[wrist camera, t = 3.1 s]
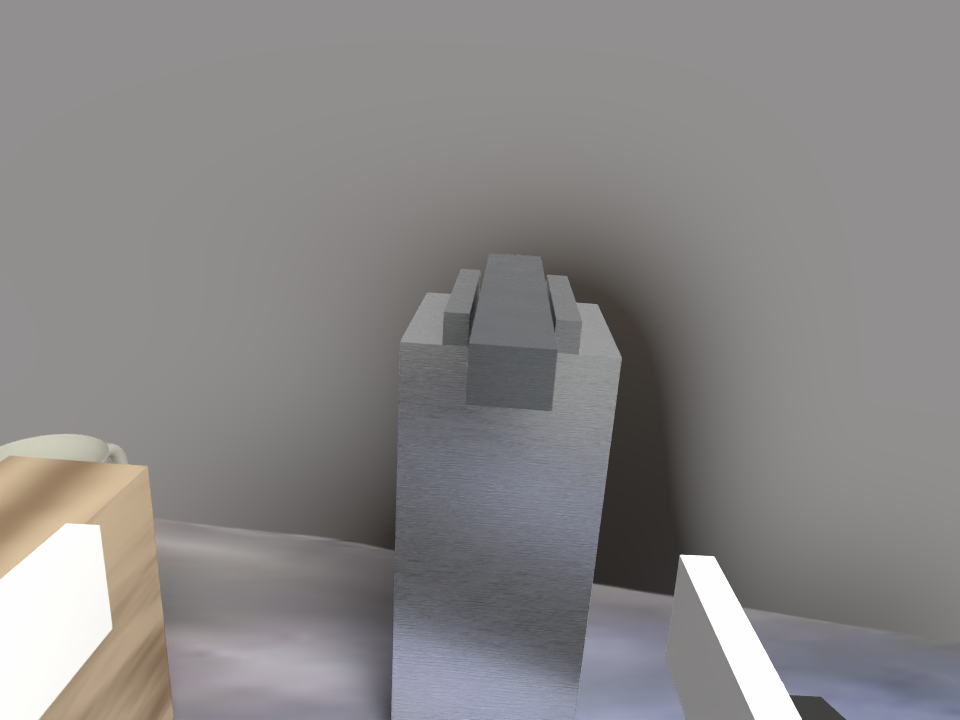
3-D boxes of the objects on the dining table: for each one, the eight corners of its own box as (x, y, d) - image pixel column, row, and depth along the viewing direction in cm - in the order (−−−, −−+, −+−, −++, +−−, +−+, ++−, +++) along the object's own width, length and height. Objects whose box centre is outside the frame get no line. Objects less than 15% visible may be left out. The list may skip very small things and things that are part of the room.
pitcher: (180, 538, 72) (169, 416, 68) (46, 661, 55) (20, 509, 51) (86, 522, 74) (70, 402, 70) (-71, 636, 57) (-106, 487, 53)
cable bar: (465, 405, 32) (468, 343, 31) (486, 290, 55) (489, 253, 54) (551, 411, 32) (557, 349, 31) (537, 294, 55) (540, 256, 54)
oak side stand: (-178, 995, 34) (-303, 656, 28) (53, 707, 51) (10, 455, 45) (1, 1013, 34) (-82, 675, 27) (173, 717, 51) (147, 466, 45)
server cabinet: (391, 737, 51) (400, 308, 40) (415, 617, 63) (428, 266, 53) (573, 753, 50) (629, 324, 40) (562, 629, 62) (603, 278, 52)
